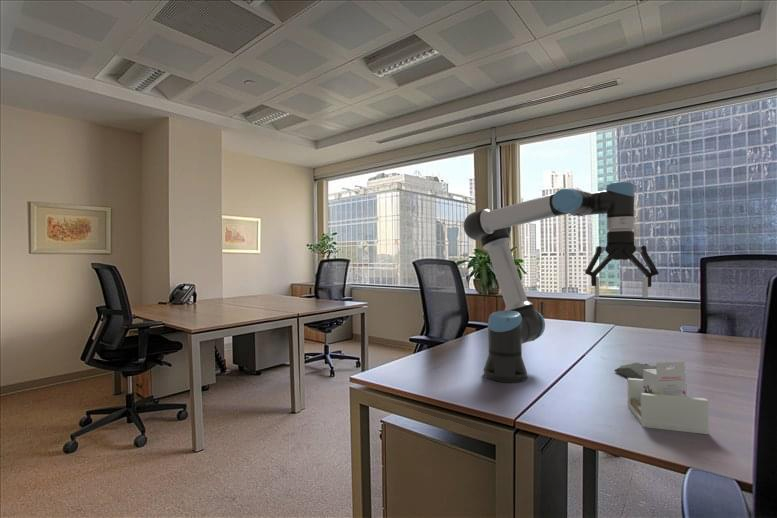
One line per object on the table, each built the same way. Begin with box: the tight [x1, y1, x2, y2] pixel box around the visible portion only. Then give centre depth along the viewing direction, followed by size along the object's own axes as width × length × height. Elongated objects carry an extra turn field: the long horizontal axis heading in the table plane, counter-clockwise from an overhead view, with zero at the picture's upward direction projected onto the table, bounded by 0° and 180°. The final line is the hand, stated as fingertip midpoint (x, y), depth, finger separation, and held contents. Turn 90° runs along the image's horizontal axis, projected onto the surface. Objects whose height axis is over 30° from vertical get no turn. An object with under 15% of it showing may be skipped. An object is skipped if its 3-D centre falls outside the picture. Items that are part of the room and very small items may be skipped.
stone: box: [614, 362, 656, 379], centre depth 138 cm, size 18×5×15 cm
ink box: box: [643, 361, 686, 397], centre depth 104 cm, size 8×5×15 cm, turn 95°
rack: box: [626, 377, 710, 435], centre depth 104 cm, size 14×15×8 cm
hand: (620, 297), depth 123 cm, fingers open, 13 cm apart
